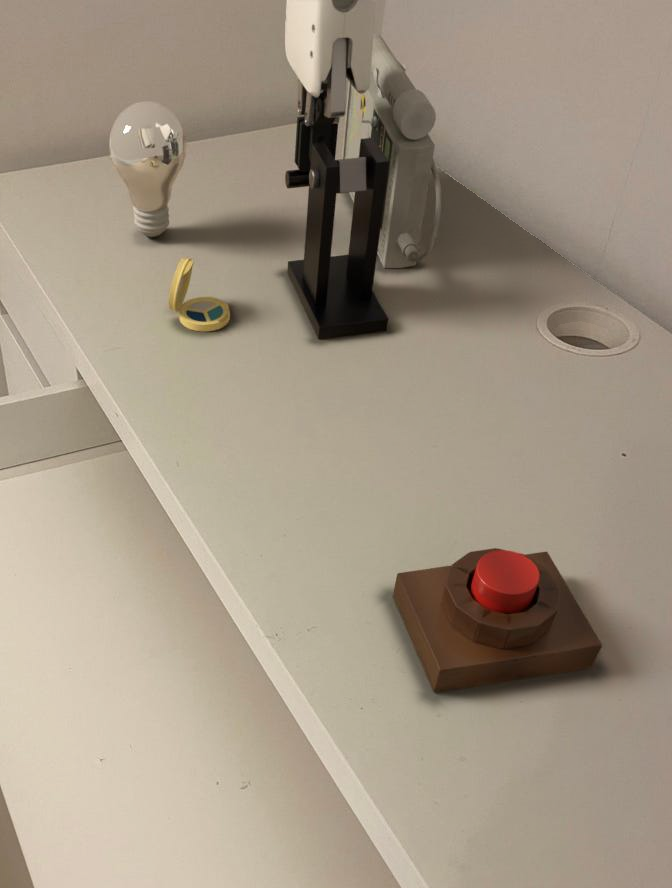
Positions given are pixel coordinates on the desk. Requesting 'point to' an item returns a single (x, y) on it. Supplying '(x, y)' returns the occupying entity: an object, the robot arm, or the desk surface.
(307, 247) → the bracket
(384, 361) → the desk surface
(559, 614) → the button block
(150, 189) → the light bulb
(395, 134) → the geiger counter
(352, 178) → the lever
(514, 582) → the button
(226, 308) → the eyeshadow
